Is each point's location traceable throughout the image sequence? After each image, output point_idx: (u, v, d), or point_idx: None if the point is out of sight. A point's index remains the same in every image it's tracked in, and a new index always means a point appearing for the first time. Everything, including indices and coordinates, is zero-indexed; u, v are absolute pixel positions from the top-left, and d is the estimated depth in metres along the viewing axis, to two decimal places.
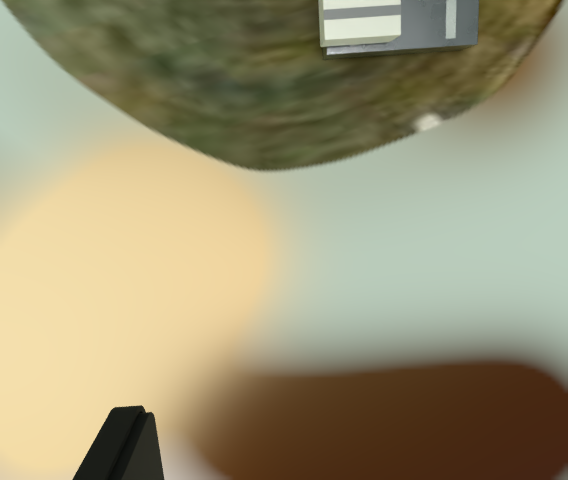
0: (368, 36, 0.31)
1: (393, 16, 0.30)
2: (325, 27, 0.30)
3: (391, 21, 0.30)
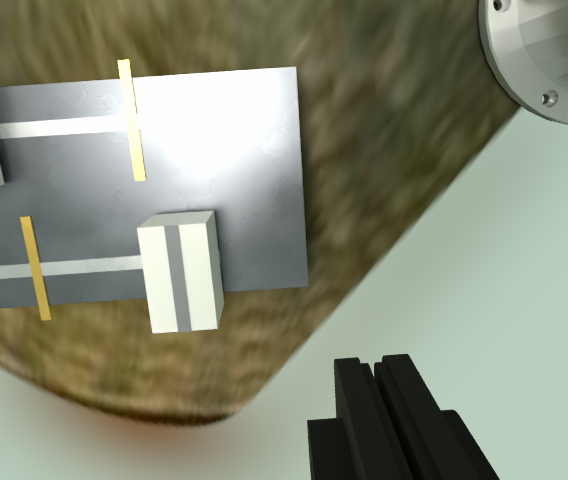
0: None
1: None
2: None
3: None
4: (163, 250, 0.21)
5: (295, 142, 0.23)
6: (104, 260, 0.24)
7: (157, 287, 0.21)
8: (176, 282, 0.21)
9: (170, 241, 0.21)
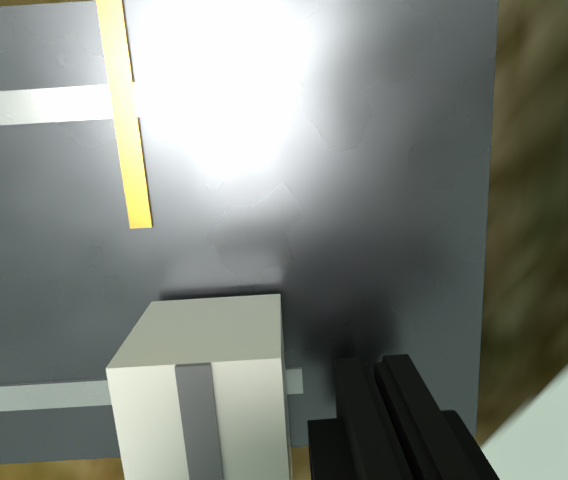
0: None
1: None
2: None
3: None
4: (172, 420, 0.08)
5: (481, 148, 0.10)
6: (66, 385, 0.12)
7: None
8: None
9: (189, 401, 0.08)
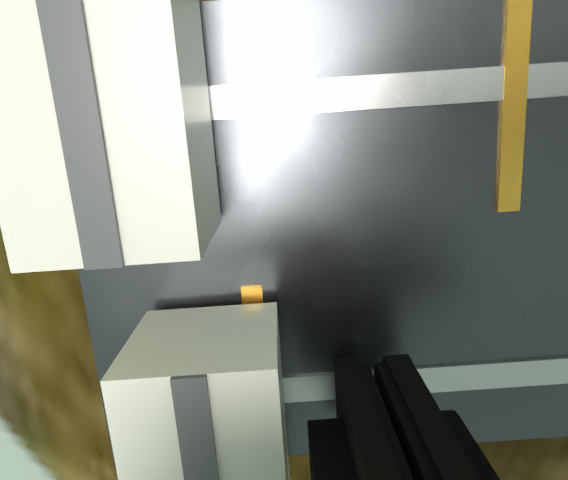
0: None
1: (75, 239, 0.07)
2: None
3: (57, 231, 0.07)
4: (168, 432, 0.08)
5: None
6: None
7: None
8: None
9: (186, 413, 0.08)
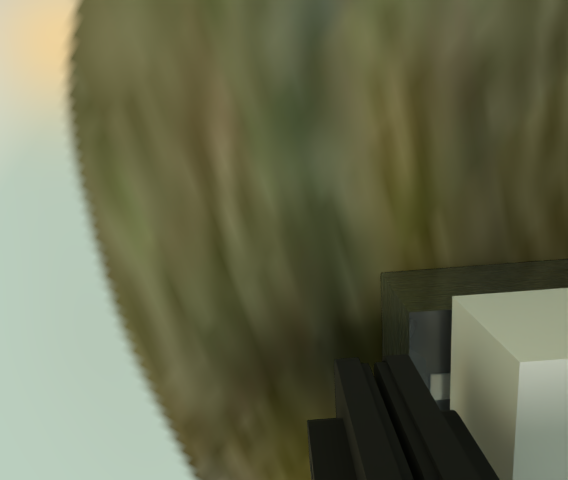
0: None
1: None
2: (564, 363, 0.08)
3: None
4: None
5: None
6: None
7: None
8: None
9: None
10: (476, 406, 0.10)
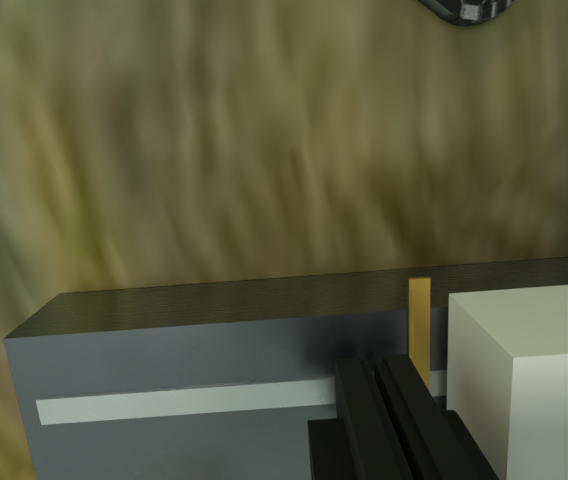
0: None
1: None
2: (558, 358, 0.08)
3: None
4: None
5: None
6: None
7: None
8: None
9: None
10: (472, 402, 0.10)
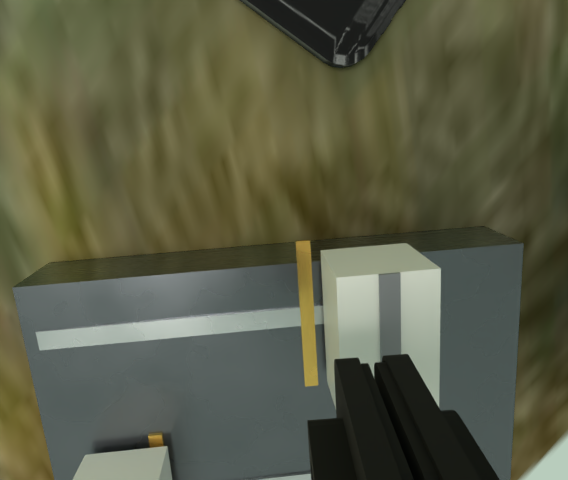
0: None
1: None
2: (362, 278, 0.13)
3: None
4: None
5: (512, 332, 0.18)
6: None
7: None
8: None
9: None
10: (330, 317, 0.15)
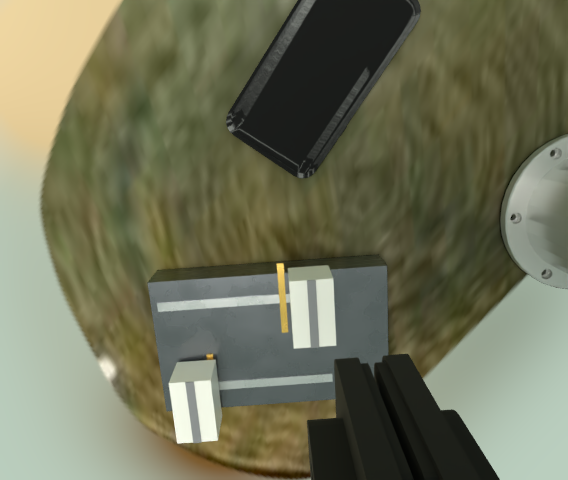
0: (292, 320, 0.33)
1: (309, 341, 0.33)
2: (300, 281, 0.32)
3: (305, 339, 0.33)
4: (184, 395, 0.34)
5: (384, 309, 0.36)
6: (257, 380, 0.37)
7: (180, 416, 0.34)
8: (192, 414, 0.34)
9: (188, 390, 0.34)
10: None
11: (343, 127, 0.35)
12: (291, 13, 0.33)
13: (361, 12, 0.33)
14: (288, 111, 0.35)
